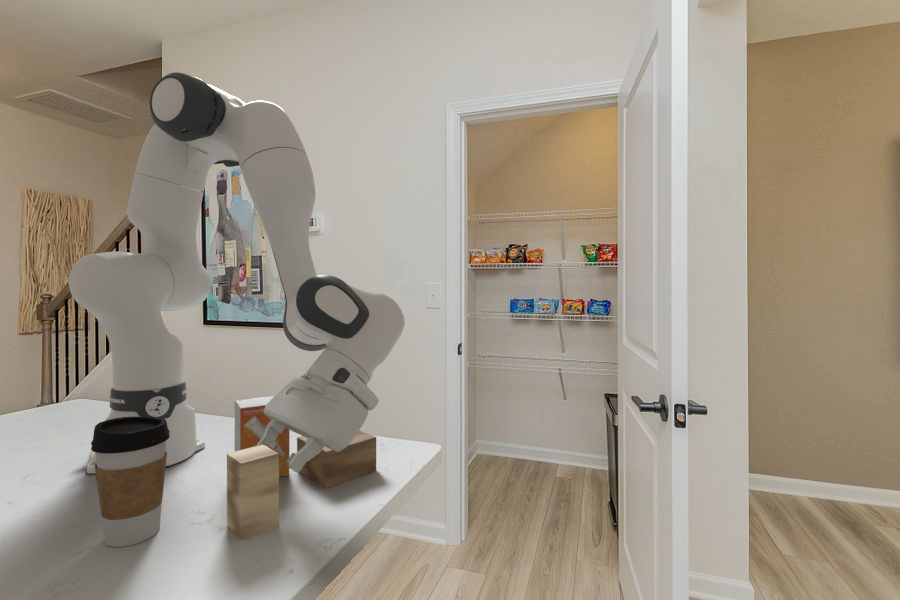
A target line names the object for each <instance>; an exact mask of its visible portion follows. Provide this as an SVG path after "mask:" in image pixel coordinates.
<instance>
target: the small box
mask: <svg viewBox="0 0 900 600" xmlns="http://www.w3.org/2000/svg"><path fill="white" fill-rule="evenodd" d="M274 396H275V395H273V396H272V395H271V396H260V397H253V398H248V399H237V400H234V452H235V451H239V450H243V449H247V448H251V447H255V446H257V444H258V443H259V441H260V440H261V439H262V438H263V435H264V432H265V430H266V427H267V425H268V423H269V422H270V421H271V419H269V418H268V417H267V416H266V415H265V414H264V413H263V412H264V409H265V407H266V405H267V404H268V402H269V401H270V400H271V399H272V398H273V397H274ZM274 444H275V446H274V448H273V449H272V450H274V451H275V452H277V453H279V478H280V477H286V476H287V477H288V476H289V475H290V468H289V467H288V466H286V461H287V460H288V459H289V457H290V430H289V429H287V428H285V429H284V430H283V432H282V433H281V434H280V433H279V434H278V436H277V438H276V440H275V442H274Z"/></svg>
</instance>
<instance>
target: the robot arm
mask: <svg viewBox="0 0 900 600" xmlns="http://www.w3.org/2000/svg"><path fill="white" fill-rule="evenodd" d="M149 111H150V115H151V117H152V121H153V122H154V123H155V124H154V125H152V126H151V128H150V130H149V132H148V134H147V136H146V138H145V140H144V142H143V145H142V148H141V151H140V153H139V157H138V159H137V162H136V167H135V169H134V170H135V171H134V176H133V181H132V184H131V187H130V188H131V189H130V194H129V199H128V203H127V208H126V214H127V215H126V216H127V218H128V220H129V222H130V223H131V224H132V225H133V227H135V228H136V229H138V230H139V232H140V234H141V237H142V241H143V251H142V253H140V252H127V251H119V250H118V251H107V252H106V251H105V252H99V253H92V254H91V253H90V254H87V255H85V256H83V257H81V258H79V259H78V260H77V261H76V262H75V264H73V267H72V268H71V270H70V273H69V276H68V288H69V291H70V294H71V296H72V298H73V299H74V300H75V302H76V303H77V304H78V305H79V306H80V307H81V308H82V309H83V308H84V309H85V310H87V312H89V313H90V314H91V315H92V316H94V317H95V318H96V320H97V321H98V322H99V324H100V325H101V327H102V328H103V330H104V333H105V334H106V337H107V339H108V343H109V345H110V350H111V361H112V362H111V363H112V385H113V387H112V388H111V389H110V392H109V393H110V394H109V409H110V411H109V413H108V415H107V417H106V418H105V419H104V421H106V420H110V419H114V418H120V417H156V418H162V419H165V420H166V421H167V426H168V430H169V431H170V433H169V435H170V437H169V439H168V440H166V449H165V451H166V452H167V458H166V467H168V466H172V465H175V464H178V463H180V462H182V461H185V460H187V459H188V458H190V457H192V455H193V454H195V453H196V452H197V451H199V450H202V449H203V448H205V447H206V444H205V441H204V440H201V439H198V438H197V423H196V411H195V408H194V407H192V406H191V405H189V404H188V403H187V401H186V400H187V393H188V390H187V389H188V387H187V382H186V381H185V380H184V346H183V343H182V341H181V340H180V338H179V337H178V336H176V335H174V334H173V333H171V332H170V331H169V330H168V328H167V327H166V325H165V322H164V319H163V315H162V312H173V311H182V310H185V309H189V308H192V307H195V306H197V305H200V304H202V303H203V302H204V301H206V299H207V298H208V296H209V294H210V291H211V288H212V281H211V276H210V274H209V271H208V270H207V269H206V268H205V267H204V265H203V264H202V262H201V259H200V256H199V251H198V243H197V242H198V241H197V230H198V229H197V228H198V227H197V226H198V222H199V216H200V212H201V208H202V207H201V206H202V203H203V197H204V193H205V187H206V182H207V176H208V174H209V170H210V168H211V167H212V166H213V165H214V164H215V163H217V162H221V163H222V164H223V165H224V166H225V167H227V168H231V167H232V168H233V167H239V168H240V171H241V174H242V177H243V180H244V183H245V185H246V189H247V190H248V192H249V193H248V194H249V196H250V199H251V200H252V203H253V205H254V207H255V209H256V212H257V214H258V217H259V219H260V221H261V224H262V226H263V229H264V233H265V234H266V237H267V239H268V242H269V244H270V249H271V250H272V254H273V257H274V262H275V265H276V269H277V272H278V275H279V276H278V277H279V279H280V282H281V286H282V287H281V288H282V290H283V293H284V299H285V305H284V312H283V317H282V318H283V319H282V327H283V328H282V329H283V332H284V335H285V337H286V338H287V340H288V341H289V342H290V343H291V344H292V345H293V346H295V347H296V348H297V349H300V350H303V351H307V352H318V351H322V352H321V354H320V355H318V357H317V358H316V360H315V361H314V362H313V363H312V364H311V366H310V367H309V368H308V370H306V372H305V373H304V374H303V375H301V376H297V377H294V378H292V379H290V380H289V381H288V382H286V383H285V384H284V385H283V386H282V387H281V388H280V389H279V391H278V392H277V393H276V394H274V395H273V396H274V397H273V398H272V399H271V400H270V401H269V402H268V404H267V405H266V407H265V409H264V412H263V413H264V414H265V415H266V416H267V417H268V418H269V419H271V421H270V422H269V423H268V425H267V427H266V430H265V432H264V435H263V438H262V439H261V440H260V441H259V443H258V444H257V446H259V445H265V446H267V447H268V448H270V449H273V448H274V446H275V444H274V442H275V440H276V438H277V436H278V434H279V433H280V434H281V433H282V432H283V430H284V429H285V428H287V429H289V431H290V432H293V433H295V434H297V435H299V436H304V437H306V438H308V439H307V440H306V441H305V443H306V445H305V446H304V447H303V448H302V449H300V450H299V451H298V452H297V451H296V453H295V452H292V453H291V454H290V455H289V459H288V460H287V461H286V466H288V467H289V470H292V471H293V472H295V473H300V472H299V471H300V470H301V469H302V467H303V466H304V465H305V463H306V462H308V461H309V460H310V459H312V458H313V457H315V456H316V455H318V454H319V453H320V452H321V450H322V449H323V447H324V446H325V447H327V448H329V449H332V450H334V451H336V452H339V451H341V450H343V449H344V448H346V447H347V446H348V445H349V444H350V442H351V441H352V440H353V438H354V437H355V436H356V434H357V433H358V431H361V429H362V427H363V425H364V424H365V422H366V420H367V418H368V415H369V411H372V410H374V409H375V408H376V407H377V406H378V404H379V401H380V399H379V397H378V396H377V394H375V393H374V392H373V390H372V389H371V388H369V387H368V384H369V383H370V382H371V380H372V377H373V375H374V373H375V370H376V369H377V368H378V367H379V366H380V365H381V364H382V363H383V362H385V361H386V359H387V357H388V356H389V355H390V353H391V352H392V350H393V349H394V347H395V346H396V344H397V342H398V341H399V339H400V337H401V336H402V333H403V332H404V328H405V316H404V313H403V311H402V309H401V307H400V306H399V305H398V303H397V302H396V301H395V300H394V299H393V298H391V297H390V296H388V295H387V294H384V293H382V292H369V291H365V290H362V289H359V288H356V287H354V286H351V285H349V284H348V283H347V282H345V281H344V280H342V279H341V278H339V277H337V276H333V275H330V274H319V275H317V272H316V271H317V270H316V268H315V265H314V264H315V263H314V261H313V258H312V254H311V251H310V250H311V249H310V243H309V241H310V240H309V237H310V236H309V235H310V227H311V226H310V225H311V220H312V215H313V211H314V206H315V202H316V186H315V178H314V173H313V169H312V166H311V163H310V160H309V157H308V154H307V152H306V150H305V149H306V148H305V147H304V144H303V141H302V140H301V137H300V135H299V134H298V133H299V132H298V131H297V129H296V127H295V125H294V124H293V122H292V121H291V119H290V118H289V115H288V114H287V113H286V111H285V109H283V108H282V107H281V106H279V105H277V104H275V103H273V102H270V101H266V100H256V101H255V100H254V101H249V102H248V103H245V102H244V101H242V100H241V99H240V98H238V97H236V96H234V95H232V93H231V94H230V93H227V92H226V91H224V90H222V89H219V88H217V87H215V86H213V85H211V84H208V83H207V82H206V81H204V80H203V79H201V78H199V77H196V76H193V75H191V74H188V73H187V74H186V73H183V72H175V71H174V72H170V73H167V74H166V75H164V76H162V77H161V78H160V79H159V80H158V81H157V82H156V83H155V85H154V86H153V88H152V90H151V93H150V97H149ZM94 429H95V427H94V428H93V430H94ZM95 464H96V455H95V452H93V451H92V450H91V455H90V458H89V461H88V464H87V467H86V473H87V474H96V472H95Z"/></svg>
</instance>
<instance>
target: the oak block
mask: <svg viewBox="0 0 900 600" xmlns="http://www.w3.org/2000/svg"><path fill="white" fill-rule="evenodd" d="M226 499H227V500H226V509H227V510H226V517H227V519H226V524H227V527H228V528H229V529H230V530H231V531H232V532H233V533H234V534H235V535H236V536H237V537H238V539H239V540H241V541H243V540H246V539H249V538H251V537H253V536H255V535H258V534H261V533H263V532H267V531H268V529H269V530H271V529H274V528H276V527H279V526H280V477H279V453H277V452H275V451H274V450H272V449H270V448H268V447H267V446H265V445H259V446H255V447H251V448H247V449H243V450H239V451H235V450H234V451H231V452H228V453H226Z"/></svg>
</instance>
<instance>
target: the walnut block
mask: <svg viewBox="0 0 900 600" xmlns="http://www.w3.org/2000/svg"><path fill="white" fill-rule="evenodd" d="M307 439H308V438H306V437H304V436H302V435H300V436H298V437H296V453H297V452H298V451H299V450H300V449H302V448H303V447H304V446H305V445H306V443H305V441H306V440H307ZM375 471H377V436H374V435H373V434H369V433H367V432H364V431H361V430H359V431H358V433H357V434H356V436H355V437H354V438H353V440H352V441H351V442H350V444H349V445H348V446H347V447H346V448H344V449H343V450H341V451H339V452H336V451H334V450H332V449H329V448H327V447H325V446H324V447H323V449H322V450H321V452H320V453H319V454H318V455H316V456H315V457H313V458H312V459H310V460H309V461H308V462H306V463H305V465H304V466H303V467H302V469H301V470H300V471H299V472H298V473H301V474H302V475H303V476H305V477H307V478H308V479H310V480H312V481H313V482H316V483H317V484H319V485H320V486H322V487H323V488H325V489H328V488H330V487H334V486H336V485H339V484H342V483H345V482H347V481H350V480H353V479H356V478H359V477H361V476H364V475H367V474H370V473H373V472H375Z"/></svg>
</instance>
